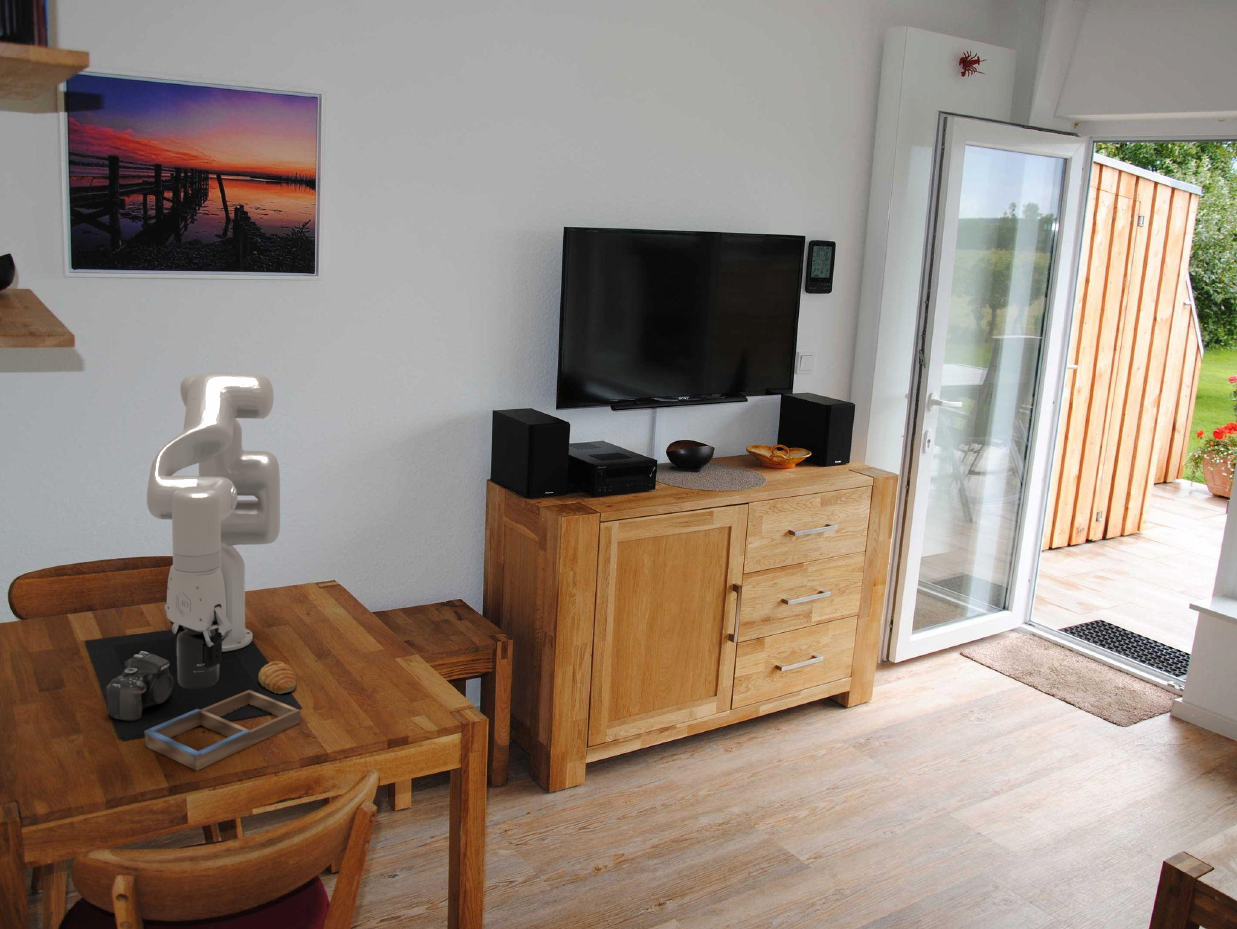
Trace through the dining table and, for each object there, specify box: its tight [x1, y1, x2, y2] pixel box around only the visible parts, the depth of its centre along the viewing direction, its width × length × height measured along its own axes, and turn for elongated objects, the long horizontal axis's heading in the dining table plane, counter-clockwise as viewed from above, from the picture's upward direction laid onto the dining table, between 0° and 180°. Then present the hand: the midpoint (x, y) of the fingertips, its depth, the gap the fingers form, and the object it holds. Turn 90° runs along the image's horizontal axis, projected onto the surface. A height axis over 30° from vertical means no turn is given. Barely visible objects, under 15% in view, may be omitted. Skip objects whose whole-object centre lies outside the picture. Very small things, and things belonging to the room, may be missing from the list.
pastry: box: [258, 660, 297, 695], centre depth 207 cm, size 9×7×4 cm
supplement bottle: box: [176, 622, 220, 690], centre depth 178 cm, size 7×7×12 cm
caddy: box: [143, 689, 301, 771], centre depth 186 cm, size 14×22×3 cm, turn 150°
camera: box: [105, 650, 174, 722], centre depth 194 cm, size 13×10×10 cm
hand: (198, 658), depth 178 cm, fingers closed on supplement bottle, 6 cm apart
